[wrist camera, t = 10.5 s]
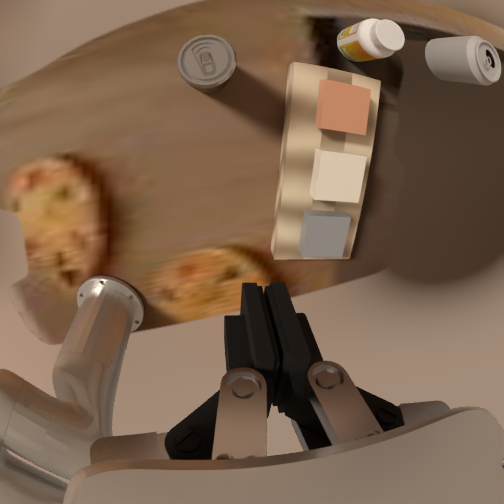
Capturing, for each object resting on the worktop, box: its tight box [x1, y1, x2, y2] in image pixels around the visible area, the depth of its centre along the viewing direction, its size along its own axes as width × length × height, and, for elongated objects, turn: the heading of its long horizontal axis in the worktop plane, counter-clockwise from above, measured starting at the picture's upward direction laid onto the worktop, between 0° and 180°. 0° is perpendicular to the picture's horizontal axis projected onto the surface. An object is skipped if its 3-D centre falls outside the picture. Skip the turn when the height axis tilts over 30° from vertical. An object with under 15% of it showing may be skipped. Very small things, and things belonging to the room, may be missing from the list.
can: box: [425, 36, 501, 85], centre depth 26 cm, size 8×8×12 cm
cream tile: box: [309, 148, 367, 203], centre depth 34 cm, size 6×6×4 cm
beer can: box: [177, 35, 237, 93], centre depth 26 cm, size 5×5×12 cm
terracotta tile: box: [315, 79, 371, 136], centre depth 31 cm, size 6×6×4 cm
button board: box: [271, 62, 381, 259], centre depth 37 cm, size 27×12×3 cm, turn 176°
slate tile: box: [298, 210, 351, 257], centre depth 39 cm, size 6×6×4 cm
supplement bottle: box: [337, 19, 404, 62], centre depth 26 cm, size 5×5×10 cm
